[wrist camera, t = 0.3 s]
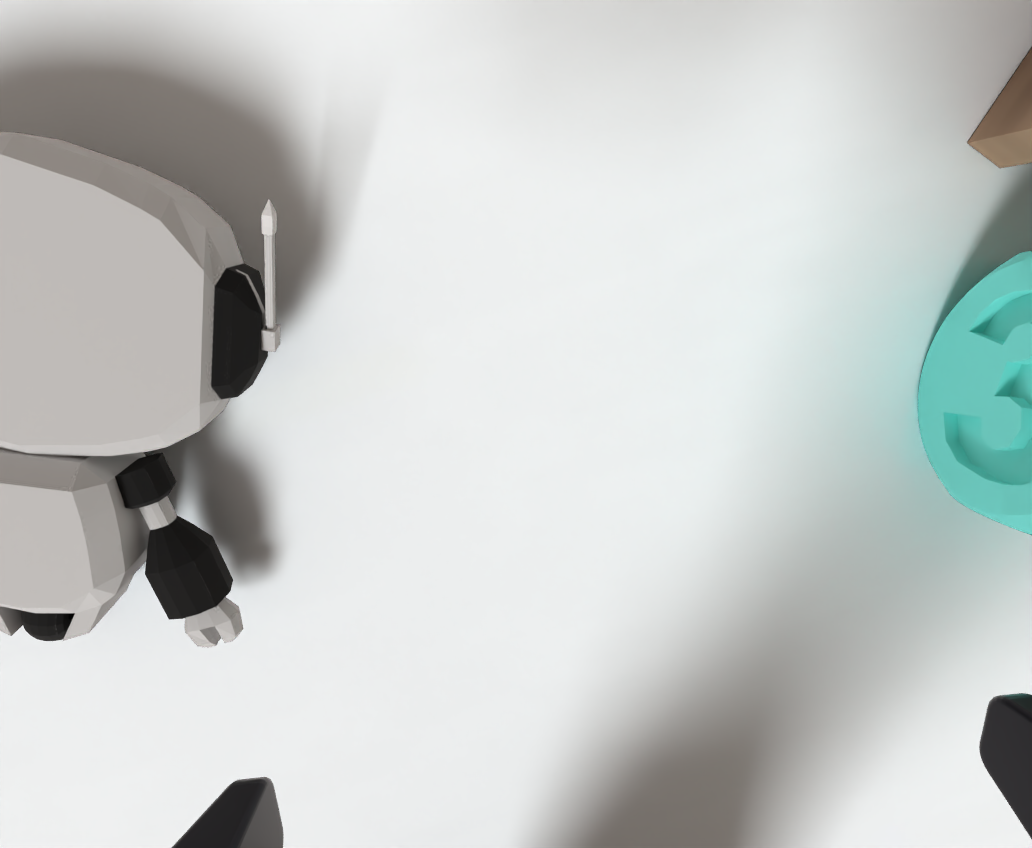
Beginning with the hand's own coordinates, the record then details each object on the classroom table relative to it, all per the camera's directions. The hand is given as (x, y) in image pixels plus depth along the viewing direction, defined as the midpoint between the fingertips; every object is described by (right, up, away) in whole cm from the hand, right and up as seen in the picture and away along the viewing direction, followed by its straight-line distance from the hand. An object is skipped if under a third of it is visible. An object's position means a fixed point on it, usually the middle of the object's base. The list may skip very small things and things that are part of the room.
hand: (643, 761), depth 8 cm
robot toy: (-15, +5, +13) cm, 21 cm away
